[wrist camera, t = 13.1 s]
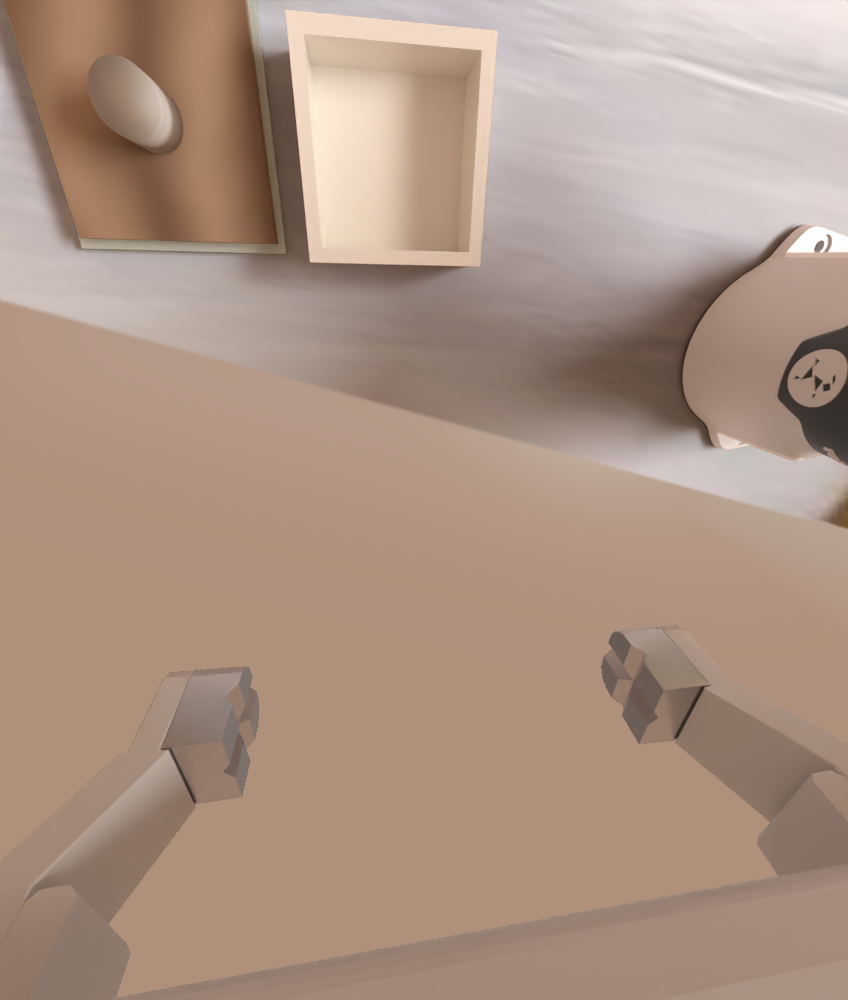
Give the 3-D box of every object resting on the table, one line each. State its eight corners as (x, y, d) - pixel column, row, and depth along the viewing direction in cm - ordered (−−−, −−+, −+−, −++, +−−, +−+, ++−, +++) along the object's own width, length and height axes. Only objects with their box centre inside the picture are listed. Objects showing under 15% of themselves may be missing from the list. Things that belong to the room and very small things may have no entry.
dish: (477, 65, 26) (497, 30, 22) (465, 266, 31) (479, 266, 28) (297, 50, 25) (285, 9, 21) (316, 262, 30) (309, 262, 26)
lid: (245, -11, 23) (222, -69, 19) (278, 244, 29) (265, 240, 25) (1, -37, 21) (-78, -104, 18) (88, 238, 27) (43, 233, 23)
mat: (254, -16, 23) (252, -23, 23) (286, 254, 30) (285, 253, 29) (-7, -44, 22) (-16, -51, 21) (87, 248, 28) (82, 248, 27)
